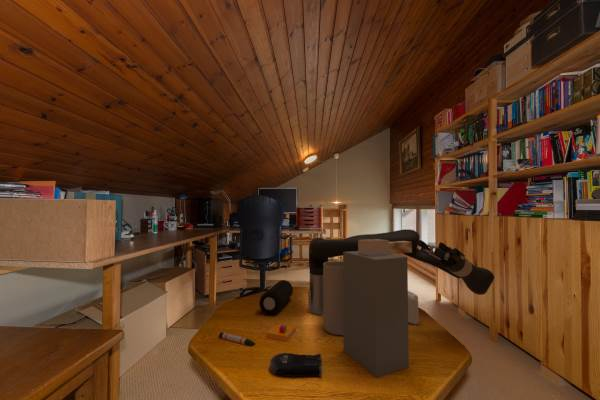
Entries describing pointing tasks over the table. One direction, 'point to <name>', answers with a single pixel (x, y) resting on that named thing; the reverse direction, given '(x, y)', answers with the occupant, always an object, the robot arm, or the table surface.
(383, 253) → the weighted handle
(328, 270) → the cylinder vase
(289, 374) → the electronic device
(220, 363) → the table surface
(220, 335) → the marker
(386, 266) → the tall shelf
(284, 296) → the portable speaker
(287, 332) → the orange wooden platform
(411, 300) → the photo printer
